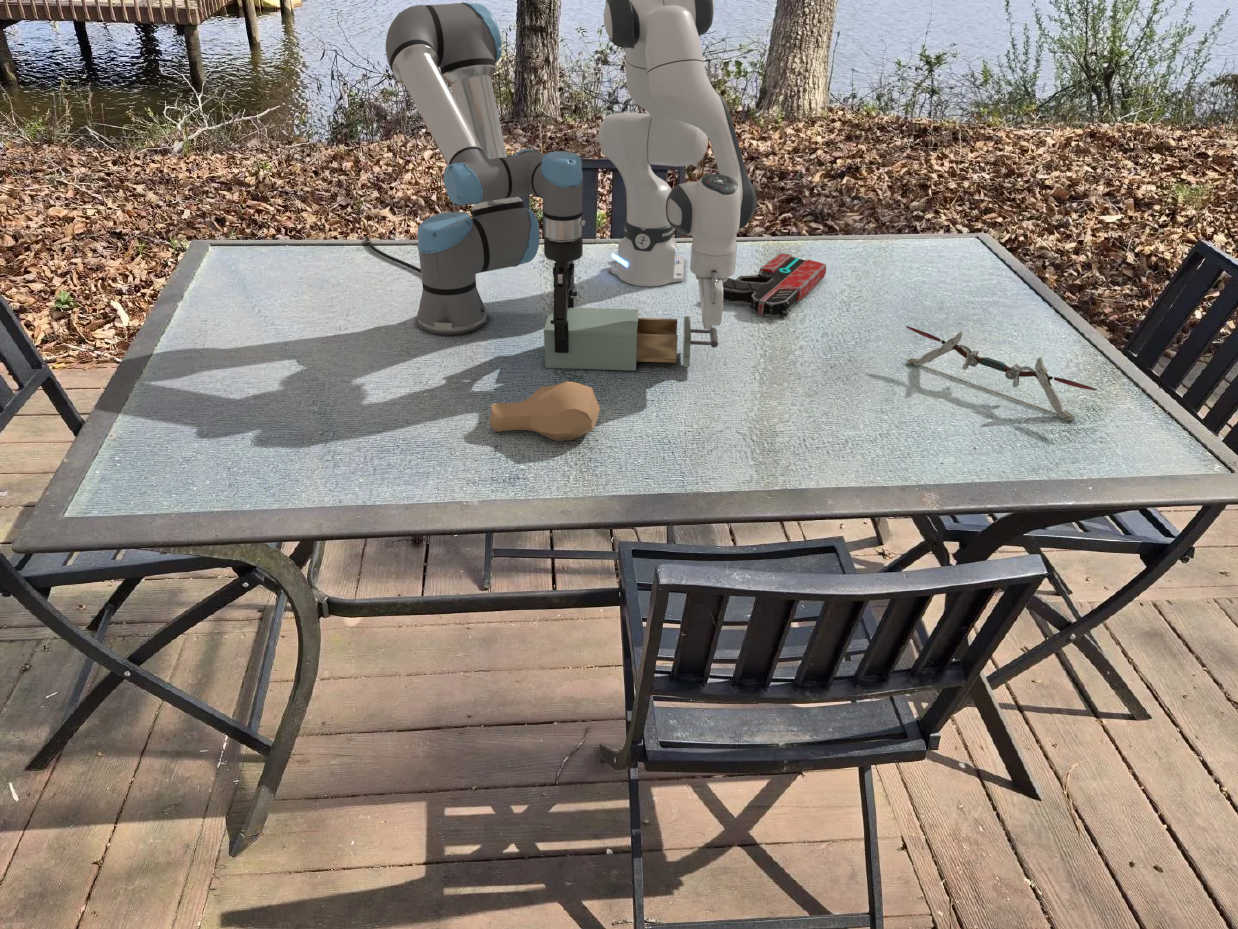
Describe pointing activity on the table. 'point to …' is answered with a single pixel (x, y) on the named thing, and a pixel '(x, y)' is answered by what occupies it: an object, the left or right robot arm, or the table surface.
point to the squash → (550, 412)
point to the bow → (1010, 372)
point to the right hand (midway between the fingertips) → (707, 326)
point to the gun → (775, 285)
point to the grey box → (595, 339)
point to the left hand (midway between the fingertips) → (564, 339)
